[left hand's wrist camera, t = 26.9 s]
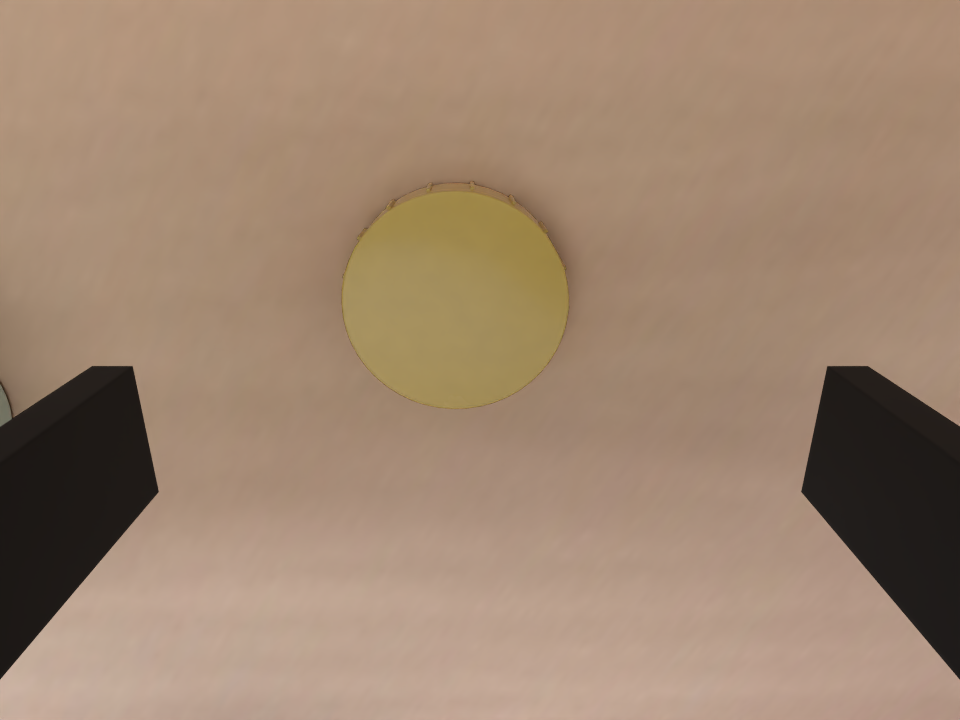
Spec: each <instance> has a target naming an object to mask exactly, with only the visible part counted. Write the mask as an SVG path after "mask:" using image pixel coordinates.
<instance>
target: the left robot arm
mask: <svg viewBox="0 0 960 720" xmlns="http://www.w3.org/2000/svg"><path fill="white" fill-rule="evenodd" d="M158 492H159V491H158V486H157V482H156V477H155V472H154V467H153V462H152V457H151V453H150V448H149V443H148V438H147V433H146V428H145V424H144V419H143V414H142V409H141V404H140V400H139V395H138V390H137V385H136V380H135V375H134V371H133V366H92V367H90V368H89V369H87V370H86V371H84V372H83V373H81V374H80V375H78V376H76V377H75V378H73V379H72V380H70V381H69V382H67V383H66V384H64V385H63V386H61V387H60V388H58V389H57V390H55V391H54V392H52V393H51V394H49V395H48V396H46V397H45V398H43V399H41V400H40V401H38V402H37V403H35V404H34V405H32V406H31V407H29V408H28V409H26V410H25V411H23V412H22V413H20V414H19V415H17V416H16V417H14V418H13V419H11V420H9V421H8V422H6V423H5V424H3V425H2V426H0V679H1V678H2V677H3V675H4V674H5V673H6V672H7V671H8V670H9V668H10V667H11V666H12V665H13V664H14V662H15V661H16V660H17V659H18V658H19V657H20V655H21V654H22V653H23V652H24V651H25V649H26V648H27V647H28V646H29V645H30V644H31V642H32V641H33V640H34V639H35V638H36V636H37V635H38V634H39V633H40V632H41V630H42V629H43V628H44V627H45V626H46V625H47V623H48V622H49V621H50V620H51V619H52V617H53V616H54V615H55V614H56V613H57V612H58V610H59V609H60V608H61V607H62V606H63V604H64V603H65V602H66V601H67V600H68V599H69V597H70V596H71V595H72V594H73V593H74V591H75V590H76V589H77V588H78V587H79V586H80V584H81V583H82V582H83V581H84V580H85V578H86V577H87V576H88V575H89V574H90V572H91V571H92V570H93V569H94V568H95V567H96V565H97V564H98V563H99V562H100V561H101V559H102V558H103V557H104V556H105V555H106V554H107V552H108V551H109V550H110V549H111V548H112V546H113V545H114V544H115V543H116V542H117V541H118V539H119V538H120V537H121V536H122V535H123V533H124V532H125V531H126V530H127V529H128V528H129V526H130V525H131V524H132V523H133V522H134V520H135V519H136V518H137V517H138V516H139V514H140V513H141V512H142V511H143V510H144V509H145V507H146V506H147V505H148V504H149V503H150V501H151V500H152V499H153V498H154V497H155V496H156V494H157V493H158ZM801 492H802V493H803V494H804V496H805V497H806V498H807V499H808V500H809V501H810V503H811V504H812V505H813V506H814V507H815V509H816V510H817V511H818V512H819V513H820V514H821V516H822V517H823V518H824V519H825V520H826V522H827V523H828V524H829V525H830V526H831V528H832V529H833V530H834V531H835V532H836V533H837V535H838V536H839V537H840V538H841V539H842V541H843V542H844V543H845V544H846V545H847V546H848V548H849V549H850V550H851V551H852V552H853V554H854V555H855V556H856V557H857V558H858V559H859V561H860V562H861V563H862V564H863V565H864V567H865V568H866V569H867V570H868V571H869V572H870V574H871V575H872V576H873V577H874V578H875V580H876V581H877V582H878V583H879V584H880V586H881V587H882V588H883V589H884V590H885V591H886V593H887V594H888V595H889V596H890V597H891V599H892V600H893V601H894V602H895V603H896V604H897V606H898V607H899V608H900V609H901V610H902V612H903V613H904V614H905V615H906V616H907V617H908V619H909V620H910V621H911V622H912V623H913V625H914V626H915V627H916V628H917V629H918V630H919V632H920V633H921V634H922V635H923V636H924V638H925V639H926V640H927V641H928V642H929V644H930V645H931V646H932V647H933V648H934V649H935V651H936V652H937V653H938V654H939V655H940V657H941V658H942V659H943V660H944V661H945V662H946V664H947V665H948V666H949V667H950V668H951V670H952V671H953V672H954V673H955V674H956V675H957V677H958V678H959V679H960V426H958V425H957V424H955V423H954V422H952V421H951V420H949V419H947V418H946V417H944V416H943V415H941V414H940V413H938V412H937V411H935V410H934V409H932V408H931V407H929V406H928V405H926V404H925V403H923V402H922V401H920V400H919V399H917V398H915V397H914V396H912V395H911V394H909V393H908V392H906V391H905V390H903V389H902V388H900V387H899V386H897V385H896V384H894V383H893V382H891V381H890V380H888V379H887V378H885V377H884V376H882V375H880V374H879V373H877V372H876V371H874V370H873V369H871V368H870V367H868V366H827V371H826V375H825V380H824V385H823V390H822V395H821V400H820V404H819V409H818V414H817V419H816V424H815V428H814V433H813V438H812V443H811V448H810V453H809V457H808V462H807V467H806V472H805V477H804V482H803V486H802V491H801Z"/></svg>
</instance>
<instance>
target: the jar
mask: <svg viewBox="0 0 960 720" xmlns="http://www.w3.org/2000/svg"><path fill="white" fill-rule="evenodd" d="M11 419H12V416H11V410H10V406H9V403H8V399H7V397H6V394H5V392H4V390H3V388H2V386H1V384H0V426H2V425H3V424H5V423H6V422H8V421H9V420H11Z"/></svg>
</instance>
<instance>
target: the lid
mask: <svg viewBox="0 0 960 720" xmlns="http://www.w3.org/2000/svg"><path fill="white" fill-rule="evenodd" d="M547 232H548V231H547V229H546V227H545V226H544V224H543V223H542V221H541V222H538V221H537V220H536V219H535V218H534V217H533V216H532V215H531V214H530V213H529V212H528V211H527V210H526V209H525V208H524V207H522V206H521V205H520V204H519V203H517V202H516V201H515V199H514V197H513V196H512V195H509V197H507V196H506V195H504V194H502V193H500V192H497V191H495V190H492V189H490V188H486V187H482V186H478V185H474V182H473V181H470V184H465V183H444V184H438V185H432V183H428V185H427V187H425V188H421V189H418V190H415V191H413V192H411V193H409V194H407V195H405V196H403V197H401V198H400V199H398V200H397V201H395V200H394V199H393V200H391V201H390V203H389V204H388V205H387V207H386V209H385V210H384V211H383V212H381V213H380V214H379V216H378V217H377V218H376V219H375V220H374V221H373V222H372V224H371V225H370V226H369V228H368V229H366V228H364V230H363V231H362V232H361V234H360V235H359V236H358V238H357V240H359V242H358V243H357V245H356V246H355V248H354V250H353V252H352V255H351V257H350V259H349V261H348V264H347V267H346V270H345V273H344V274H343V278H344V279H343V285H342V301H341V304H342V313H343V319H344V323H345V327H346V331H347V334H348V336H349V339H350V341H351V344H352V346H353V348H354V349H355V351H356V353H357V355H358V357H359V358H360V359H361V361H362V362H363V363H364V365H365V366H366V367H367V369H368V370H369V371H370V372H371V373H372V374H373V375H374V376H375V377H376V378H377V379H378V380H380V381H381V382H382V383H383V384H384V385H386V386H387V387H388V388H390V389H391V390H393V391H395V392H396V393H398V394H399V395H402V396H404V397H406V398H408V399H410V400H412V401H415V402H418V403H421V404H424V405H428V406H433V407H438V408H448V409H466V408H473V407H480V406H484V405H487V404H491V403H494V402H497V401H499V400H502V399H504V398H507V397H508V396H510V395H512V394H514V393H516V392H518V391H519V390H521V389H522V388H523V387H525V386H526V385H527V384H529V383H530V382H531V381H532V380H533V379H534V378H535V377H537V376H538V375H539V374H540V373H541V371H542V370H543V369H544V368H545V367H546V365H547V364H548V363H549V362H550V360H551V358H552V357H553V355H554V354H555V352H556V350H557V348H558V346H559V344H560V342H561V339H562V337H563V334H564V330H565V327H566V323H567V317H568V311H569V292H568V283H567V278H566V274H565V270H566V266H565V265H564V263H563V261H562V260H561V258H560V256H559V255H558V253H557V251H556V249H555V248H554V246H553V244H552V242H551V241H550V239H549V237H548V235H547V234H546V233H547Z"/></svg>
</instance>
